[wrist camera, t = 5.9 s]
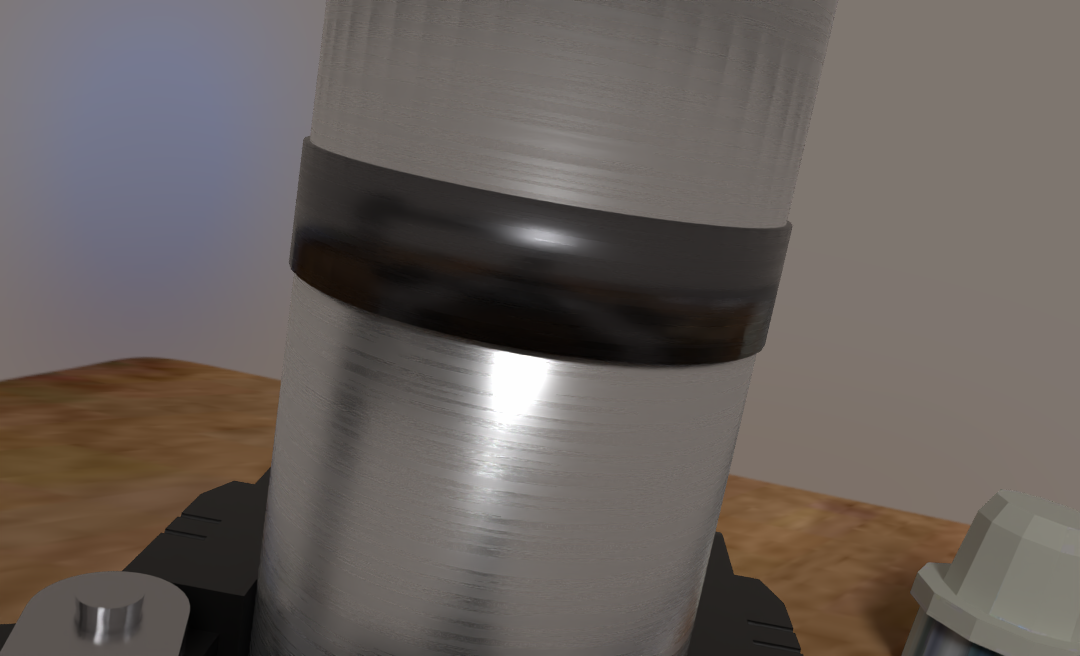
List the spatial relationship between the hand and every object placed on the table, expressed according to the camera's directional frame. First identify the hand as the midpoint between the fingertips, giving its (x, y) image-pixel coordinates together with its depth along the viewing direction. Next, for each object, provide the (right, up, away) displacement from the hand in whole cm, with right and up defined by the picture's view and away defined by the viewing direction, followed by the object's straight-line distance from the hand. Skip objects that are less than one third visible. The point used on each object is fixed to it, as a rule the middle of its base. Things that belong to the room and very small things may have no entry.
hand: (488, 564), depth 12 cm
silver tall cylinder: (-2, -9, -1) cm, 9 cm away
